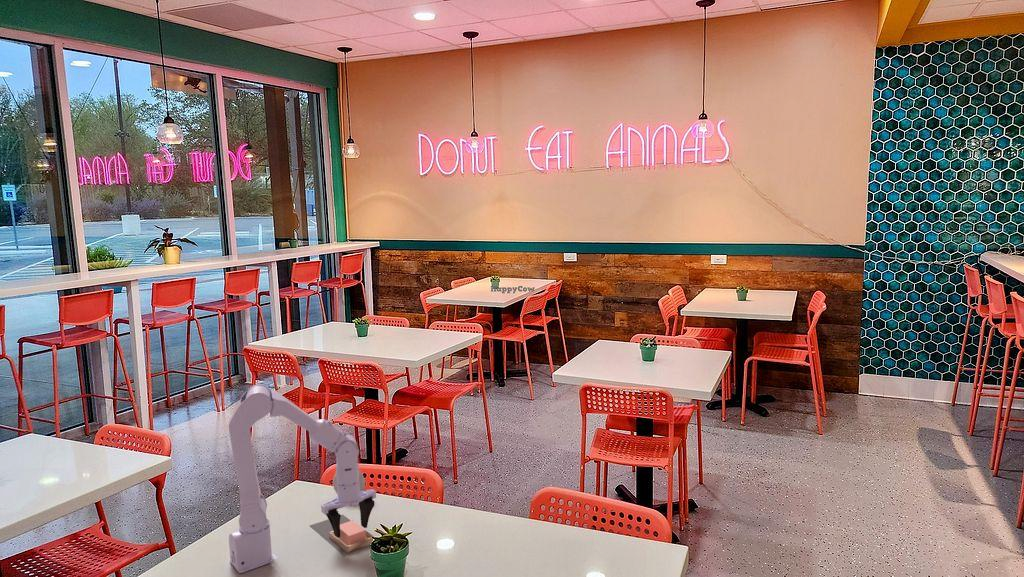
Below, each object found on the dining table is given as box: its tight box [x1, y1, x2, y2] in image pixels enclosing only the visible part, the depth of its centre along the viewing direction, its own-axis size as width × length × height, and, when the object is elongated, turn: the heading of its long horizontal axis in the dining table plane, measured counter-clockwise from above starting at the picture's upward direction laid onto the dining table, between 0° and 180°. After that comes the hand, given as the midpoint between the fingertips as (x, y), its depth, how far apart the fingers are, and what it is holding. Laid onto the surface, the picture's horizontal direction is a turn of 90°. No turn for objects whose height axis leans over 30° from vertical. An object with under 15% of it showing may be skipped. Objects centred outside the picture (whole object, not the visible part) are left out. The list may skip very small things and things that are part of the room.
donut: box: [332, 470, 366, 494], centre depth 204 cm, size 10×4×10 cm, turn 84°
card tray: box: [329, 530, 376, 553], centre depth 177 cm, size 8×11×2 cm
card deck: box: [339, 520, 367, 545], centre depth 177 cm, size 8×5×3 cm, turn 39°
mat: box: [309, 514, 371, 557], centre depth 181 cm, size 10×22×1 cm, turn 39°
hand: (351, 531), depth 177 cm, fingers open, 7 cm apart
